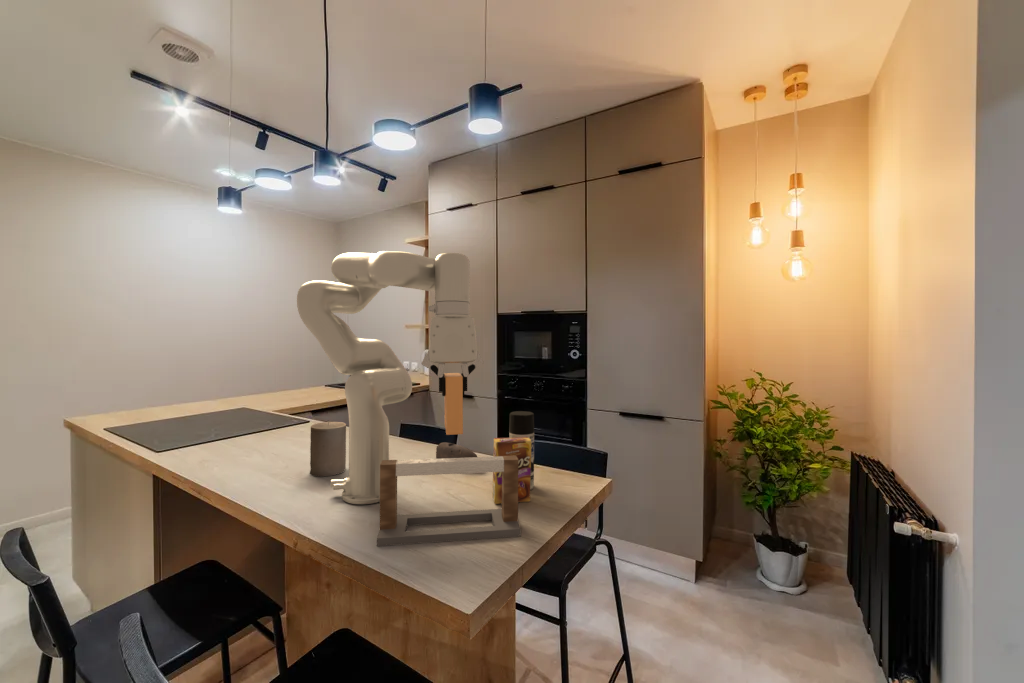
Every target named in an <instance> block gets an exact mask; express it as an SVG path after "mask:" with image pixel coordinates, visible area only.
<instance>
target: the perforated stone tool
mask: <svg viewBox="0 0 1024 683" xmlns="http://www.w3.org/2000/svg"><path fill="white" fill-rule="evenodd" d="M435 450H436V451H435V459H442V458H469V457H478V454H476V453H475V452H474V451H473V450H471V449H470V448H467V447H465V446H462V445H460V444H455V443H451V442H446V441H444V442H440V443H439V444H438V445H436V449H435Z"/></svg>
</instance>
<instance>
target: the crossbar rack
mask: <svg viewBox="0 0 1024 683" xmlns="http://www.w3.org/2000/svg"><path fill="white" fill-rule="evenodd" d="M493 472H502V503H501V508H491V509H473V510H471V509H470V510H458V511H457V510H456V511H438V512H423V513H422V512H421V513H419V512H418V513H405V514H398V477H410V476H413V477H414V476H430V475H432V476H435V475H455V474H477V473H478V474H479V473H480V474H481V473H483V474H484V473H493ZM518 516H519V502H518V458H517V456H516V455H515V456H497V457H493V456H477V457H469V458H442V459H436V458H420V459H419V458H418V459H417V458H416V459H389V460H382V462H381V464H380V502H379V531H378V533H377V537H376V547H384V546H385V547H386V546H397V545H398V546H400V545H412V544H425V543H426V544H427V543H428V544H429V543H440V542H443V543H444V542H455V541H458V542H459V541H471V540H472V541H473V540H484V539H501V538H502V539H503V538H516V537H521V535H522V534H521V533H522V531H521V530H522V528H521V526H520V522H519V520H518ZM479 521H480V522H481V521H491V524H492V525H487V526H486V525H485V526H472V527H471V526H469V527H456V528H455V527H454V528H440V529H439V528H438V529H425V530H412V531H411V530H410V531H407V529H408V526H414V525H417V526H418V525H430V524H445V523H446V524H447V523H450V524H451V523H463V522H464V523H465V522H479Z"/></svg>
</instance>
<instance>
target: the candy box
mask: <svg viewBox="0 0 1024 683" xmlns="http://www.w3.org/2000/svg"><path fill="white" fill-rule="evenodd" d="M492 454H493V455H492V457H497V456H515V455H516V456H517V458H518V503H525V502H526V503H527V502H528V503H529V502H531V490H530V479H531V440H530V439H529V438H528V437H514V438H509V437H494V438H493V453H492ZM491 493H492V500H493V502H494V505H499V504H502V472H492V492H491Z"/></svg>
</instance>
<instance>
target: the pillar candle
mask: <svg viewBox="0 0 1024 683" xmlns="http://www.w3.org/2000/svg"><path fill="white" fill-rule="evenodd" d="M309 447H310V448H309V449H310V451H309V453H310V455H309V456H310V458H309V459H310V460H309V461H310V463H309V466H310V470H309V474H310V475H311V476H313V477H320V478H321V477H331V476H336V474H337V475H339V473H340V474H342V473H344V472H346V470H347V469H346V466H347V465H346V464H347V460H346V459H347V423H345V422H342V421H329V420H327V421H326V422H317V423H314V424H312V425H311V426H310V446H309ZM343 471H344V472H343ZM341 472H342V473H341Z"/></svg>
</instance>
